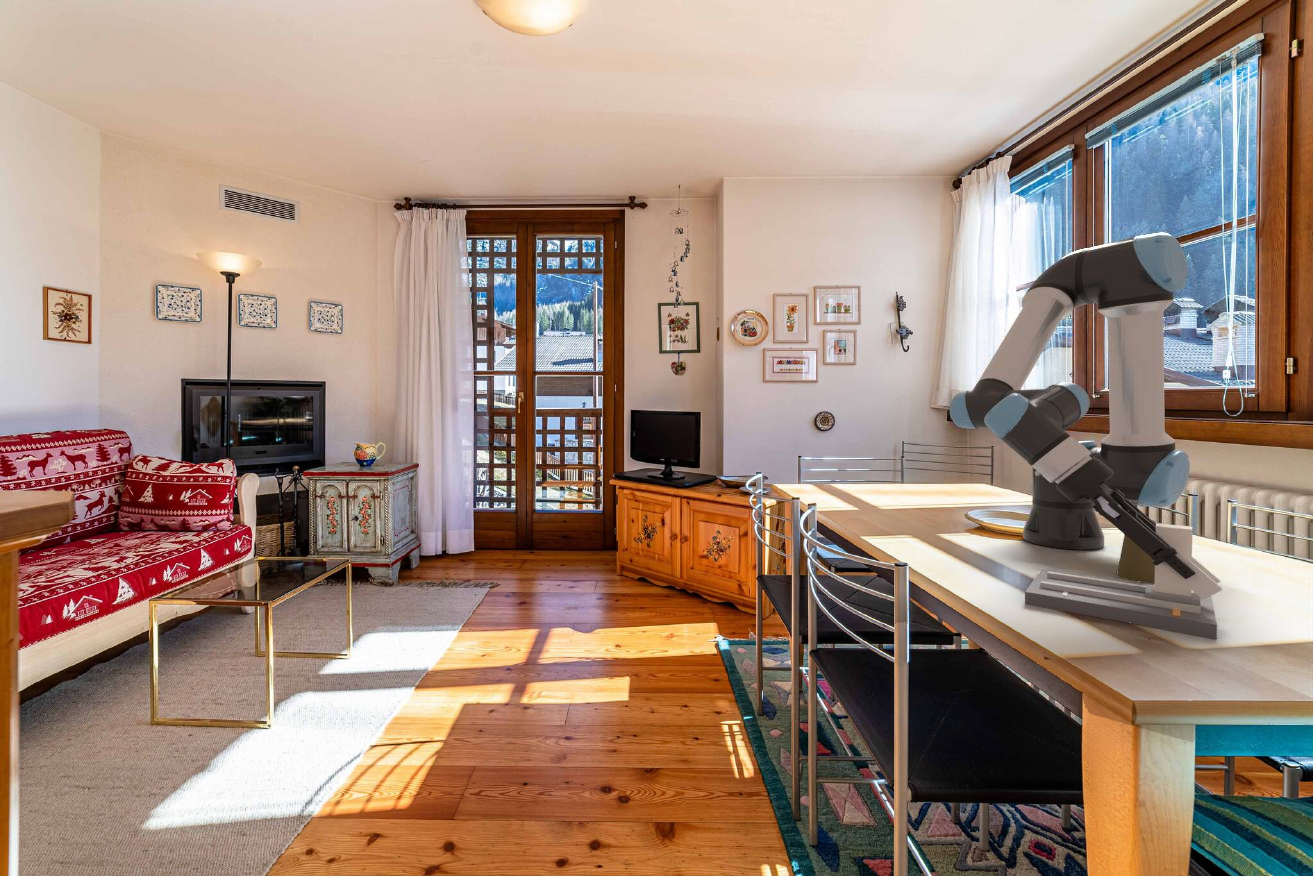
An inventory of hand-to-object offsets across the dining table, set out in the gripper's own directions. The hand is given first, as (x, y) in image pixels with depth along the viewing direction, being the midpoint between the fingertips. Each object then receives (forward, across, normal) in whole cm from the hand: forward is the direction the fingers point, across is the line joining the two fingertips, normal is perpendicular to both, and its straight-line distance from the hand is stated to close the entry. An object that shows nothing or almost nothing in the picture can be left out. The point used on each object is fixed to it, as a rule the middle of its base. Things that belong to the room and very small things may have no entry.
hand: (1211, 589), depth 82 cm
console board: (-4, 0, -11) cm, 12 cm away
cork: (-3, -20, -10) cm, 22 cm away
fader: (-1, 0, -5) cm, 5 cm away
